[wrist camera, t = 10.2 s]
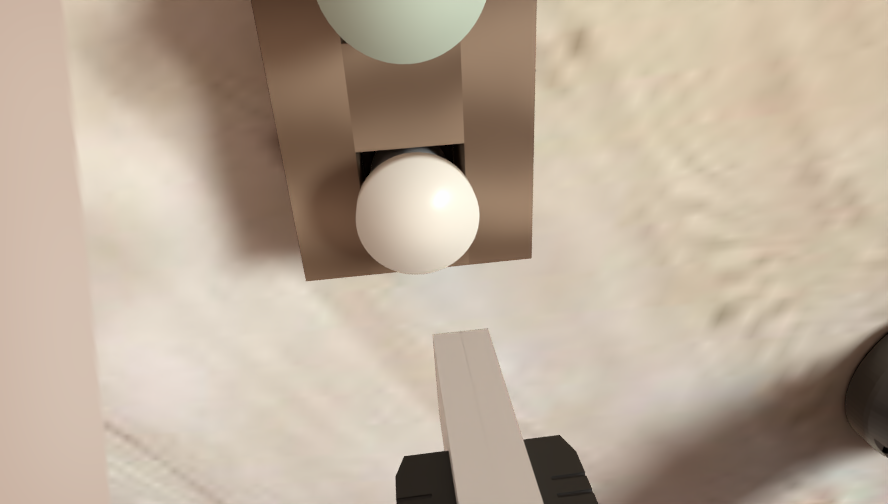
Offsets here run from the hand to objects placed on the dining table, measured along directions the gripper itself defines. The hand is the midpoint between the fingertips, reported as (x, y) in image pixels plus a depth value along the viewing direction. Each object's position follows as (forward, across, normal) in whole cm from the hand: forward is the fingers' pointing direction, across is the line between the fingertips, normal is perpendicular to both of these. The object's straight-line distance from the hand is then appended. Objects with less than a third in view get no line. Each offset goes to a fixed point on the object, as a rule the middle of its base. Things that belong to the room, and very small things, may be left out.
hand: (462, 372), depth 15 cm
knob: (+18, +1, 0) cm, 18 cm away
